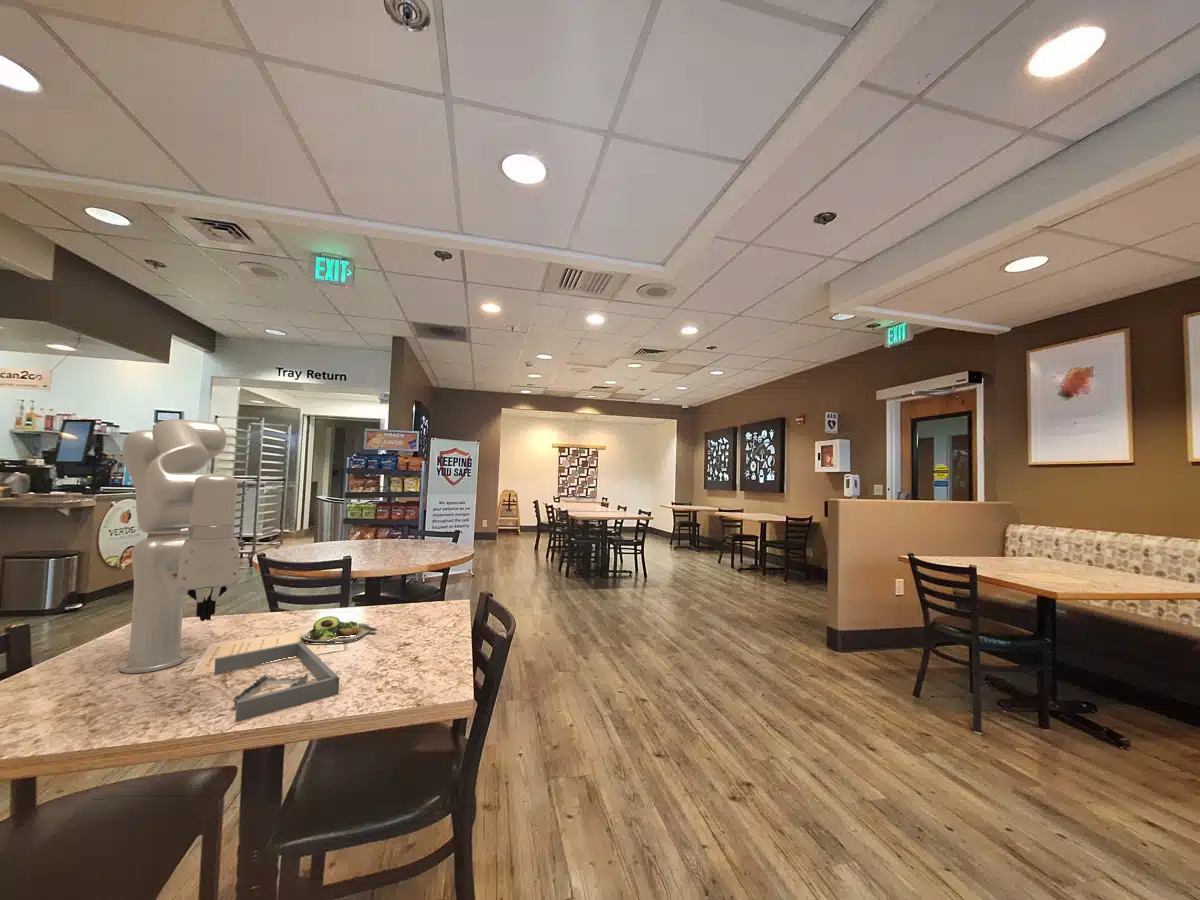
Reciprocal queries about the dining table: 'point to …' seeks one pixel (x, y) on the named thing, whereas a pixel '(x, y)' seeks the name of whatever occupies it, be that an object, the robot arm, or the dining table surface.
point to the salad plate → (335, 630)
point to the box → (285, 697)
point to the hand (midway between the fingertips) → (205, 618)
